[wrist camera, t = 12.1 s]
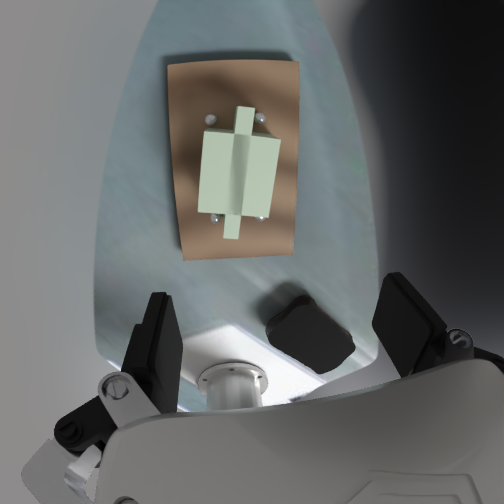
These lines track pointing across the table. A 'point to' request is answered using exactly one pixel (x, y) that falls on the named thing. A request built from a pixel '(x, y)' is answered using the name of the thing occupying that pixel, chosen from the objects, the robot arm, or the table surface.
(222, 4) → the table surface
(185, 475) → the robot arm
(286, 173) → the pin plate
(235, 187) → the green grooved block
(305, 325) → the black sponge
